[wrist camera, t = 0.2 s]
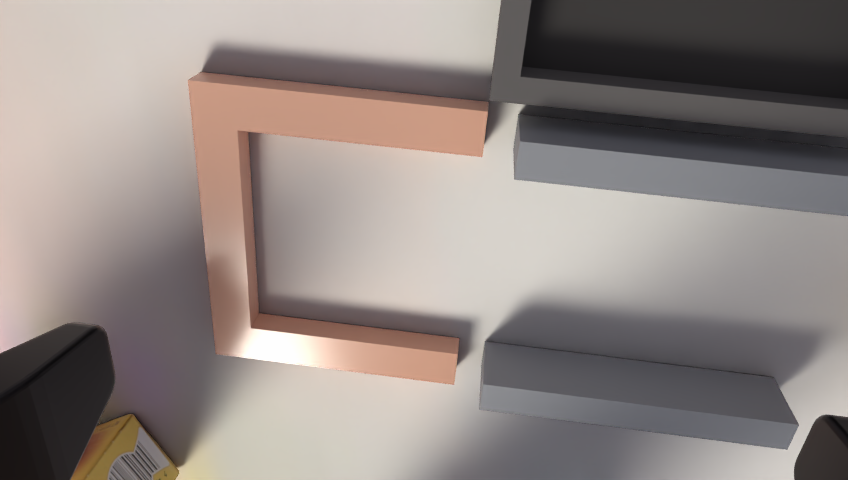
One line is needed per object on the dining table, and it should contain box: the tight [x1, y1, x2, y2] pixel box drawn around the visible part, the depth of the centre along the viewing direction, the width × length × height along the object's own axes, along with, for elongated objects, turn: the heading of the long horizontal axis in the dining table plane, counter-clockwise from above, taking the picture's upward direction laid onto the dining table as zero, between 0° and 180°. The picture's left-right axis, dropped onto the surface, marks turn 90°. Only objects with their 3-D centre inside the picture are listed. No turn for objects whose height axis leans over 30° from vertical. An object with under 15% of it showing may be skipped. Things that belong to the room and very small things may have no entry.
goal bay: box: [188, 72, 489, 385], centre depth 24 cm, size 11×10×1 cm
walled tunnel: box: [479, 114, 848, 450], centre depth 23 cm, size 10×11×2 cm
